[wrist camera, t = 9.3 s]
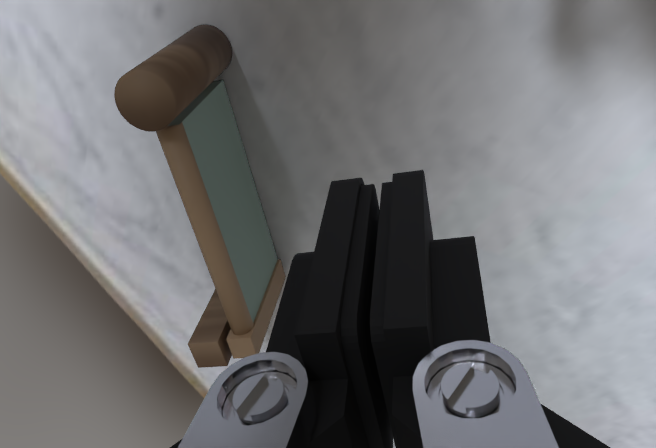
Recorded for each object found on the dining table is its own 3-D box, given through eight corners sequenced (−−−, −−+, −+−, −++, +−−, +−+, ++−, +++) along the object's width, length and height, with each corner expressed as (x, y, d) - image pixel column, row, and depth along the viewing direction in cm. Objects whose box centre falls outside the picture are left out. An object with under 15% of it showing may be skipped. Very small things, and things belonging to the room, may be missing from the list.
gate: (202, 83, 36) (147, 135, 29) (226, 79, 35) (175, 131, 28) (265, 278, 43) (233, 358, 36) (285, 276, 43) (257, 357, 36)
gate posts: (179, 26, 35) (106, 72, 27) (227, 23, 34) (166, 68, 26) (234, 278, 44) (192, 367, 37) (272, 279, 44) (237, 369, 36)
